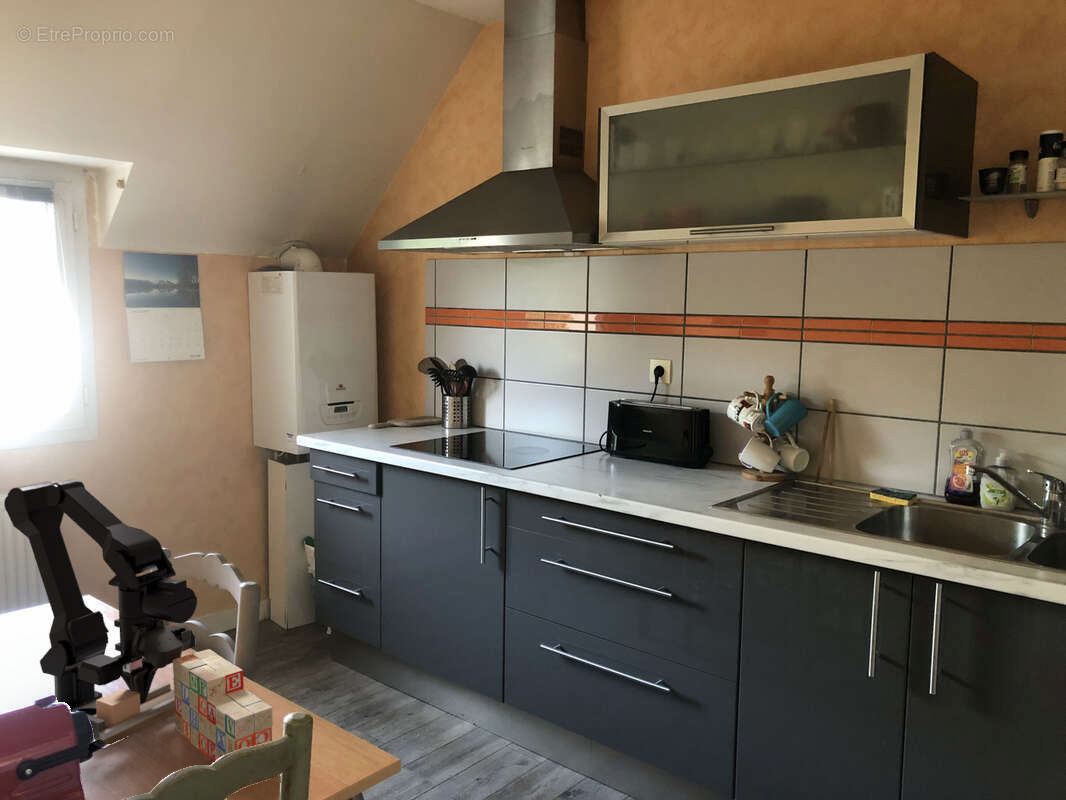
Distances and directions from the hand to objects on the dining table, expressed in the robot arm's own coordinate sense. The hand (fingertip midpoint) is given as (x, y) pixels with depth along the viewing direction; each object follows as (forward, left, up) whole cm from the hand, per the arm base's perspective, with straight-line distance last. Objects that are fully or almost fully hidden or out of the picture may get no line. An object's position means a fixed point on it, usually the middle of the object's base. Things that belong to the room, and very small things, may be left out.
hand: (141, 702), depth 143 cm
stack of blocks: (+19, 0, -3) cm, 19 cm away
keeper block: (0, -4, -1) cm, 4 cm away
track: (0, -1, -3) cm, 3 cm away
